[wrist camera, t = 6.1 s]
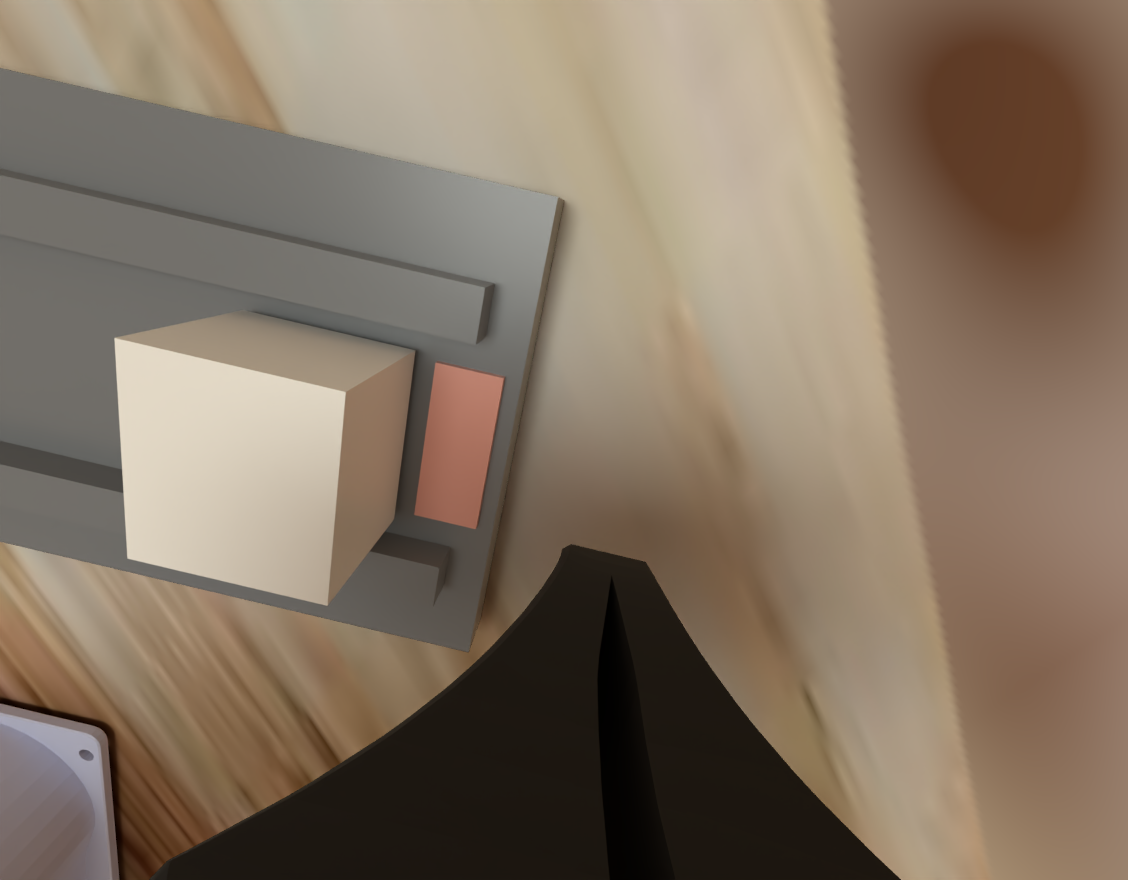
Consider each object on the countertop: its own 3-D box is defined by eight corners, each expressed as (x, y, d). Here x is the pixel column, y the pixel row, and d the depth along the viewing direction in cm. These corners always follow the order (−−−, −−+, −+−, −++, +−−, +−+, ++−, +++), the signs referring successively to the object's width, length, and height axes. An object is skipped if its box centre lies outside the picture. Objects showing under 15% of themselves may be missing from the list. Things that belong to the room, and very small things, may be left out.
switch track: (480, 618, 18) (459, 678, 15) (-94, 483, 18) (-202, 521, 15) (564, 200, 13) (553, 194, 11) (-188, 26, 14) (-355, -16, 11)
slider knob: (393, 519, 15) (327, 605, 11) (239, 483, 15) (127, 558, 11) (415, 350, 13) (345, 391, 10) (243, 309, 13) (114, 337, 10)
